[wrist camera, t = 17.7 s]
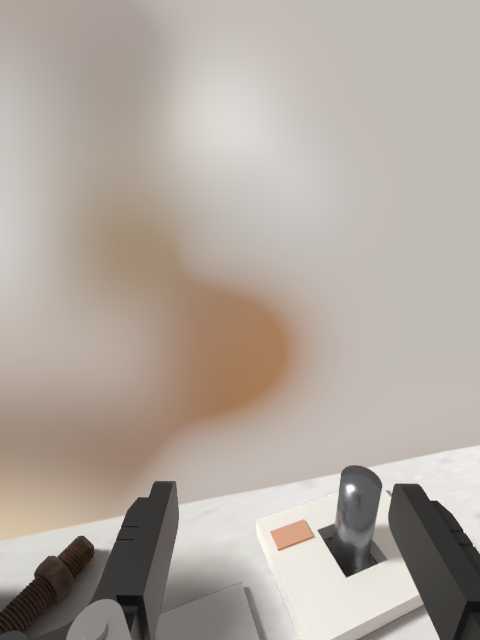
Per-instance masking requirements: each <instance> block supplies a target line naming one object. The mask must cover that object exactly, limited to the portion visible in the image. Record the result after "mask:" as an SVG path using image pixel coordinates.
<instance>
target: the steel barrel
mask: <svg viewBox="0 0 480 640" xmlns="http://www.w3.org/2000/svg"><path fill="white" fill-rule="evenodd" d="M381 491H382V483H381V480H380V479H379V477H378V476H377V475H376V474H375V473H374V472H372V471H371V470H369V469H367V468H365V467H362V466H348V467H346V468H345V469H344V470H343V471H342V473H341V480H340V488H339V495H338V503H337V511H336V518H335V526H334V534H333V541H332V549H331V554H332V556H333V557H334V559H335V561H336V562H337V564H338V566H339V567H340V569H341V570H342V572H343V574H344V575H345V576H348V577H350V576H352V575H354V574H356V573H359V572H361V571H363V570H365V569H367V565H368V560H369V554H370V549H371V544H372V539H373V533H374V528H375V523H376V518H377V512H378V507H379V502H380V496H381Z"/></svg>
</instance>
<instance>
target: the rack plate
mask: <svg viewBox="0 0 480 640" xmlns="http://www.w3.org/2000/svg"><path fill="white" fill-rule="evenodd" d="M338 495H339V492H337V493H334V494H331V495H328V496H325V497H322V498H319V499H316V500H313V501H310V502H307V503H304V504H301V505H298V506H295V507H292V508H289V509H286V510H283V511H280V512H278V513H275V514H272V515H269V516H266V517H263V518H260V519H257V520H256V534H257V536H258V539H259V541H260V544H261V546H262V549H263V551H264V554H265V556H266V559H267V561H268V563H269V566H270V568H271V571H272V573H273V576H274V578H275V581H276V583H277V586H278V588H279V591H280V593H281V595H282V598H283V600H284V603H285V605H286V608H287V610H288V613H289V615H290V618H291V620H292V623H293V625H294V627H295V630H296V632H297V635H298V637H299V640H357V639H359V638H361V637H363V636H365V635H367V634H369V633H371V632H373V631H374V630H376V629H378V628H380V627H382V626H384V625H386V624H388V623H390V622H392V621H394V620H395V619H397V618H399V617H401V616H403V615H405V614H407V613H409V612H411V611H413V610H414V609H416V608H418V607H420V606H422V605H424V603H423V601H422V599H421V597H420V594H419V592H418V590H417V588H416V586H415V584H414V581H413V579H412V577H411V575H410V573H409V570H408V568H407V566H406V564H405V562H404V560H403V557H402V555H401V553H400V551H399V549H398V547H397V544H396V542H395V540H394V538H393V536H392V533H391V530H390V527H389V522H388V512H389V507H390V502H391V496H390V495H389V494H388V493H387V492H386V491H385V490H384V489H383V488H382V491H381V496H380V502H379V507H378V512H377V518H376V523H375V528H374V533H373V539H372V544H371V549H370V554H371V555H372V556H373V558H374V559H375V561H376V562H377V563H378V564H377V565H374V566H372V567H370V568H368V569H365V570H363V571H361V572H359V573H356V574H354V575H352V576H350V577H347V578H346V577H345V575H344V574H343V572H342V570H341V569H340V567H339V566H338V564H337V562H336V561H335V559H334V557H333V556H332V554H331V552H330V551H329V549H328V547H327V546H326V544H325V542H324V541H323V540H326V539H328V538H331V537H333V534H334V526H335V518H336V511H337V503H338Z"/></svg>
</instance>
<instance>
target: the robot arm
mask: <svg viewBox="0 0 480 640" xmlns="http://www.w3.org/2000/svg"><path fill="white" fill-rule="evenodd" d="M178 520H179V509H178V498H177V488H176V482H175V481H155V482H154V484H153V486H152V489H151V493H150V495H149V498H140V497H139V498H138V499H137V500H136V501H135V502H134V503H133V505H132V506H131V507H130V508H129V509H128V511H127V513H126V516H125V518H124V521H123V523H122V526H121V529H120V531H119V533H118V536H117V539H116V542H115V544H114V546H113V549H112V551H111V554H110V556H109V559H108V561H107V564H106V567H105V569H104V572H103V574H102V577H101V579H100V582H99V584H98V587H97V589H96V592H95V594H94V596H93V598H92V600H91V602H90V603H89V605H88V606H87V607H86V608H85V609H84V610H83V611H82V612H81V613H80V614H79V615H78V616H77V617H76V619H75V620H73V621H72V622H71V623H69V624H67V625H66V626H64V627H62V628H59V629H57V630H54V631H52V632H49V633H46V634H44V635H41V636H38V637H36V638H33V639H30V640H154V638H155V633H156V628H157V624H158V619H159V614H160V609H161V605H162V600H163V595H164V591H165V586H166V581H167V576H168V572H169V567H170V562H171V558H172V553H173V548H174V543H175V539H176V534H177V529H178ZM388 522H389V527H390V530H391V533H392V536H393V538H394V540H395V542H396V544H397V547H398V549H399V551H400V553H401V555H402V557H403V560H404V562H405V564H406V566H407V568H408V570H409V573H410V575H411V577H412V579H413V581H414V584H415V586H416V588H417V590H418V592H419V594H420V597H421V599H422V601H423V603H424V605H425V608H426V610H427V612H428V614H429V616H430V618H431V621H432V623H433V625H434V627H435V629H436V631H437V634H438V636H439V638H440V640H480V554H479V552H478V551H477V549H476V548H475V547H473V545H472V542H471V541H470V539H469V538H468V536H467V535H466V533H464V532H463V529H462V528H461V526H460V525H459V523H458V522H457V520H456V519H455V518H454V516H453V515H452V514H451V513H450V512H449V511H448V510H447V509H446V508H445V507H443V506H442V505H441V504H440V503H439V502H438V501H430V500H429V498H428V496H427V495H426V493H425V492H424V490H423V489H422V487H421V486H420V485H418V484H395V485H394V488H393V493H392V497H391V502H390V507H389V512H388ZM0 640H28V637H27V636H26V635H25V634H24V633H23V632H20V631H9V632H6V633H3V634H1V635H0Z"/></svg>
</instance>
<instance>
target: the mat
mask: <svg viewBox="0 0 480 640" xmlns="http://www.w3.org/2000/svg"><path fill="white" fill-rule="evenodd" d="M155 639H156V640H260V639H259V636H258V633H257V629H256V626H255V623H254V620H253V617H252V613H251V610H250V607H249V604H248V601H247V597H246V594H245V591H244V588H243V585H242V582H239V583H237V584H234V585H232V586H229V587H227V588H224V589H222V590H219V591H217V592H214V593H212V594H209V595H207V596H204V597H202V598H199V599H197V600H194V601H192V602H189V603H187V604H184V605H182V606H179V607H177V608H174V609H172V610H169V611H167V612H164V613H162V614H159V619H158V624H157V628H156V633H155Z"/></svg>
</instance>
